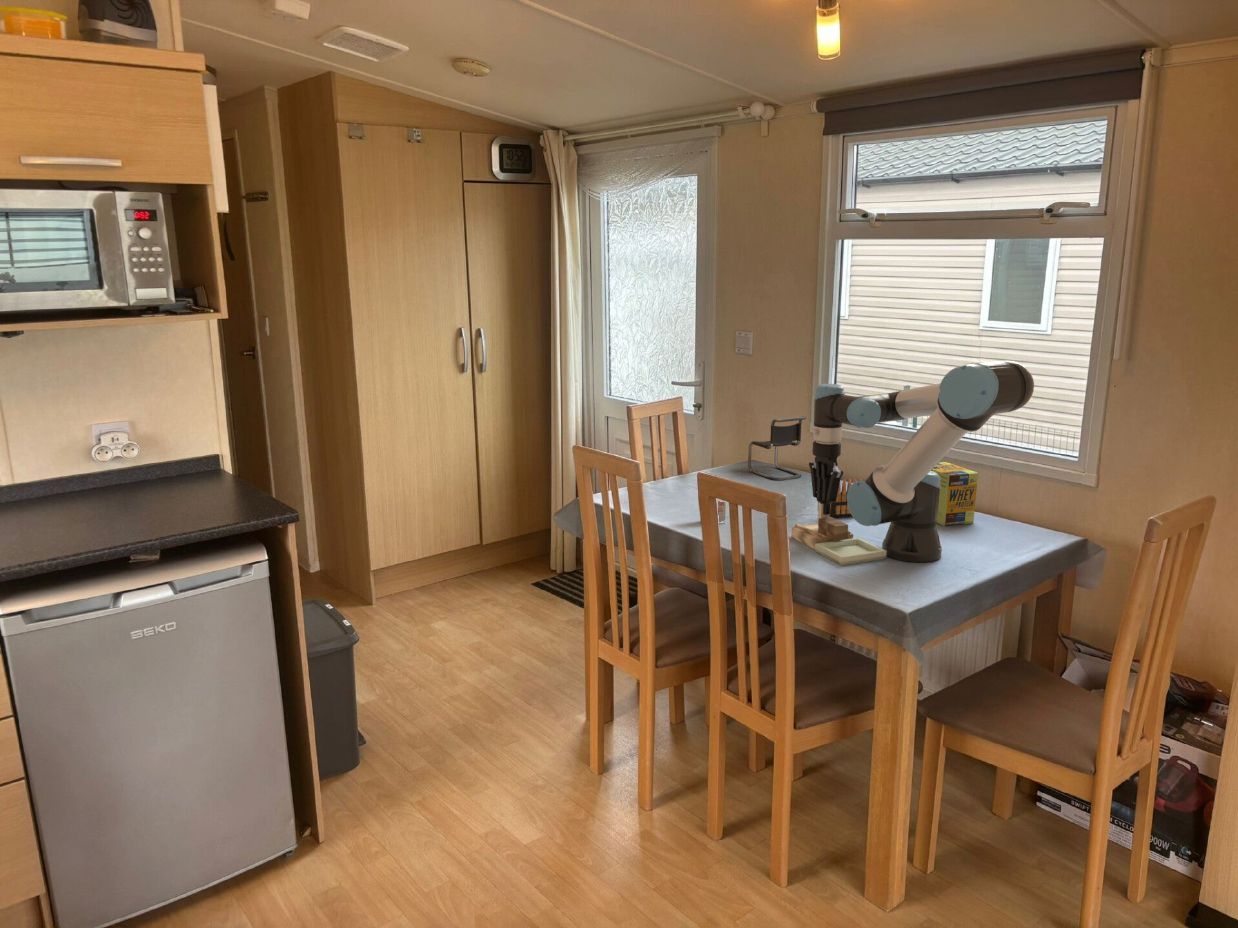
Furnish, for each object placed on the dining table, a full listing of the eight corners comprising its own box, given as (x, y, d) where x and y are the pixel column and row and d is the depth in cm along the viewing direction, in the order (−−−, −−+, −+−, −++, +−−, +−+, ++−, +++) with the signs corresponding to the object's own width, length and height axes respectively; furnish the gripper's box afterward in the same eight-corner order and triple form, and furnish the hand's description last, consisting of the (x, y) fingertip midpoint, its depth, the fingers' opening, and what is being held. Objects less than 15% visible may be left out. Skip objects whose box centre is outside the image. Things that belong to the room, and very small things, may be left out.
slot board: (852, 544, 250) (853, 531, 249) (815, 549, 245) (816, 536, 244) (827, 532, 260) (827, 519, 259) (791, 537, 256) (791, 524, 255)
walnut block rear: (838, 534, 248) (839, 520, 247) (826, 536, 247) (827, 522, 246) (830, 530, 252) (830, 516, 251) (817, 532, 250) (818, 518, 250)
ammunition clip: (859, 514, 278) (861, 476, 275) (862, 516, 276) (864, 478, 273) (827, 517, 275) (829, 478, 272) (829, 518, 273) (832, 480, 271)
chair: (775, 481, 317) (777, 419, 312) (746, 471, 332) (749, 411, 327) (805, 477, 322) (808, 416, 317) (776, 467, 337) (778, 408, 332)
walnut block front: (847, 538, 245) (848, 524, 244) (835, 540, 243) (835, 526, 242) (838, 534, 248) (839, 520, 247) (826, 536, 247) (827, 522, 246)
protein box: (944, 526, 266) (949, 475, 262) (912, 512, 280) (916, 463, 276) (974, 523, 269) (979, 472, 265) (941, 509, 283) (945, 461, 280)
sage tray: (886, 558, 238) (886, 550, 238) (841, 565, 233) (841, 557, 233) (857, 545, 249) (858, 537, 249) (814, 551, 244) (815, 543, 243)
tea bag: (699, 521, 271) (700, 489, 268) (720, 520, 272) (721, 487, 270) (703, 525, 267) (704, 492, 265) (725, 523, 269) (725, 490, 266)
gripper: (801, 438, 251) (798, 520, 256) (829, 447, 239) (825, 532, 244) (824, 436, 253) (820, 517, 259) (853, 444, 242) (848, 529, 247)
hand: (823, 524), depth 251 cm, fingers closed
